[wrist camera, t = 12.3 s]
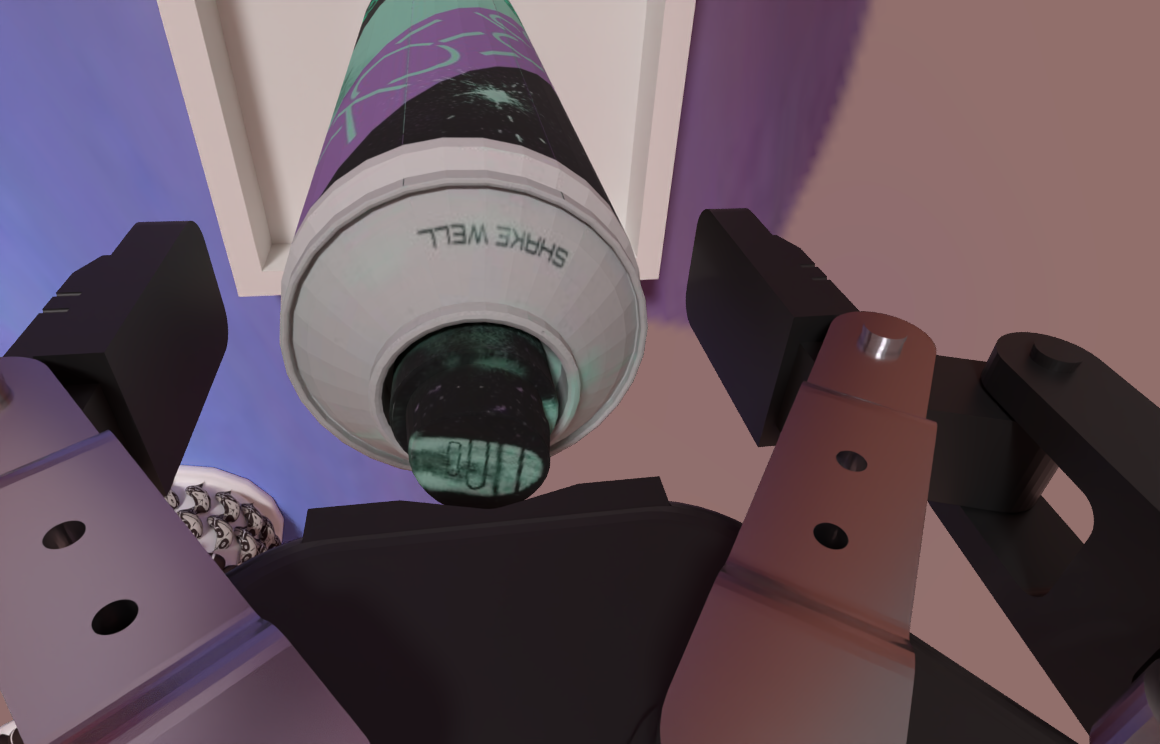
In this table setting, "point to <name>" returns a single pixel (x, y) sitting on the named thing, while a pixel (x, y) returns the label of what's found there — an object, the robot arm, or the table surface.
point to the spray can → (458, 261)
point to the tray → (316, 73)
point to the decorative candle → (215, 524)
